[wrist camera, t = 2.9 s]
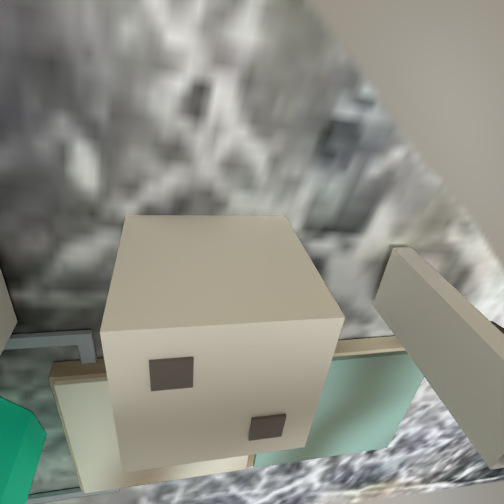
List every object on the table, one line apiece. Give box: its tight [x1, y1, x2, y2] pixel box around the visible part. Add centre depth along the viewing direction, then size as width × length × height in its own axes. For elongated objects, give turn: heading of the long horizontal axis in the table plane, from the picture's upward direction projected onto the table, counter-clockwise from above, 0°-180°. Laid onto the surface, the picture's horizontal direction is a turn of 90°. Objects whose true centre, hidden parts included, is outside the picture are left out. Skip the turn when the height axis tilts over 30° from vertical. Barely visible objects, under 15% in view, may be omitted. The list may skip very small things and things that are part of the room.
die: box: [100, 215, 345, 473], centre depth 11 cm, size 5×5×5 cm
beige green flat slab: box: [48, 336, 424, 493], centre depth 17 cm, size 16×8×1 cm, turn 84°
